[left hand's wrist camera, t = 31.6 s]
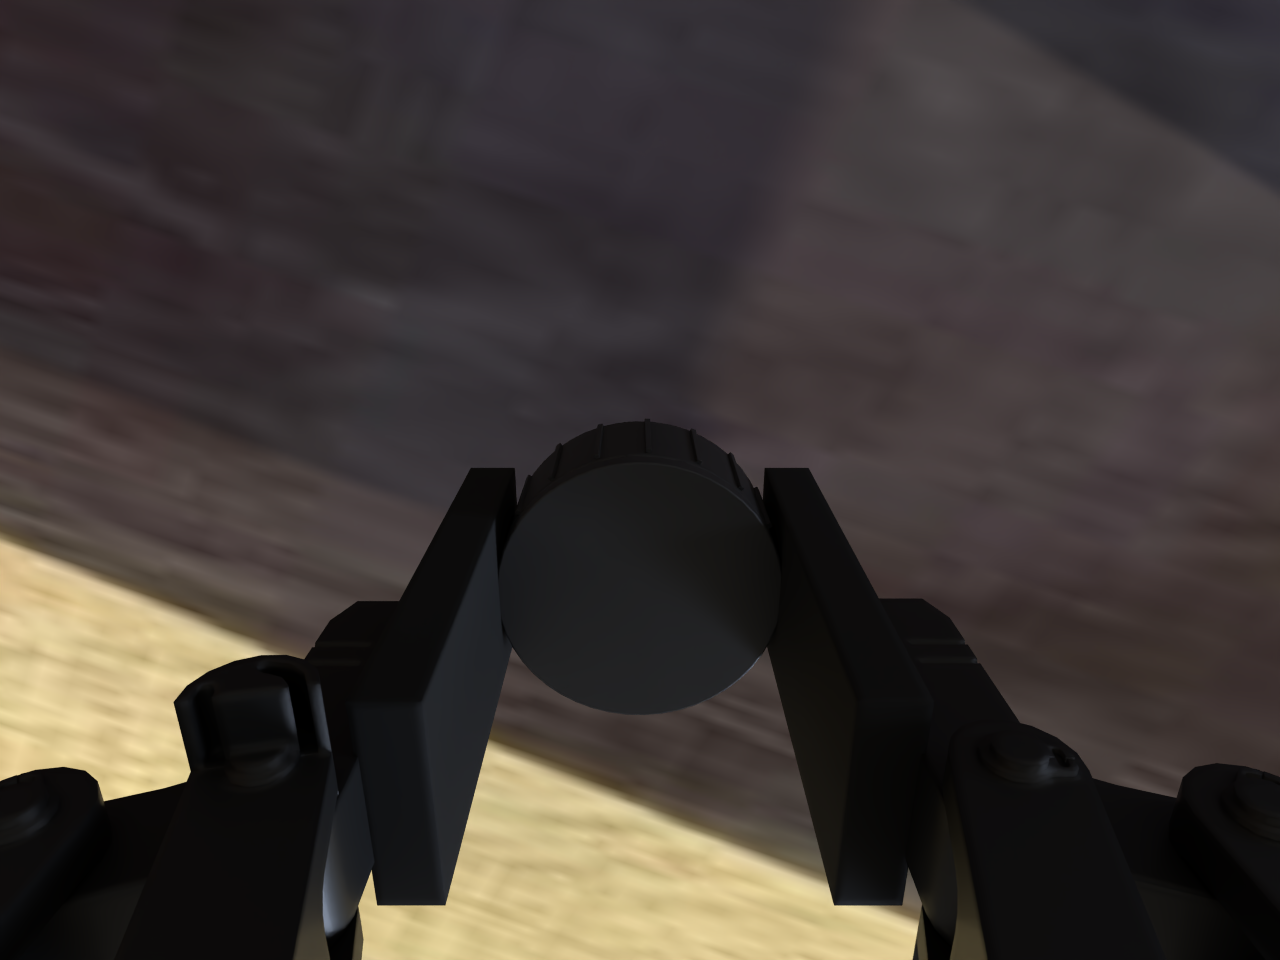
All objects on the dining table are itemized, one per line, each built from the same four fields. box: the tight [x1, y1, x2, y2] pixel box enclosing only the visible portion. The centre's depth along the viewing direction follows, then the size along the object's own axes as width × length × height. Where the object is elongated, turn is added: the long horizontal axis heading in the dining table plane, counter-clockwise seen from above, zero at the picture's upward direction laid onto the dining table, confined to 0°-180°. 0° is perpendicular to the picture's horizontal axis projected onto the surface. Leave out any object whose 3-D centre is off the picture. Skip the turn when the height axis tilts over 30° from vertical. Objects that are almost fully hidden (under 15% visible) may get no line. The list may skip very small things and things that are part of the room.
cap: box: [498, 419, 781, 715], centre depth 14 cm, size 4×4×2 cm
